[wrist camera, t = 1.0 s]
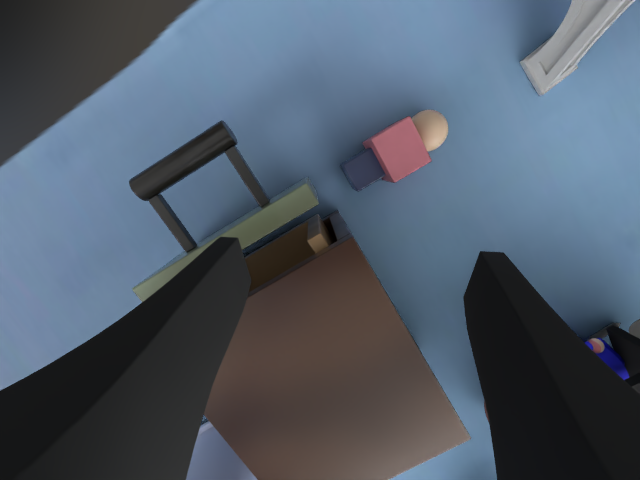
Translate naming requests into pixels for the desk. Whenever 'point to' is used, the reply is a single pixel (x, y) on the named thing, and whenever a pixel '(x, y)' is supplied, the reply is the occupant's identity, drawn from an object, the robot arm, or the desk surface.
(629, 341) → the figurine character
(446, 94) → the desk surface
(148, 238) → the desk surface
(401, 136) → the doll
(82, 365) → the robot arm
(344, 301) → the cabinet
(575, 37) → the eiffel tower
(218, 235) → the drawer
